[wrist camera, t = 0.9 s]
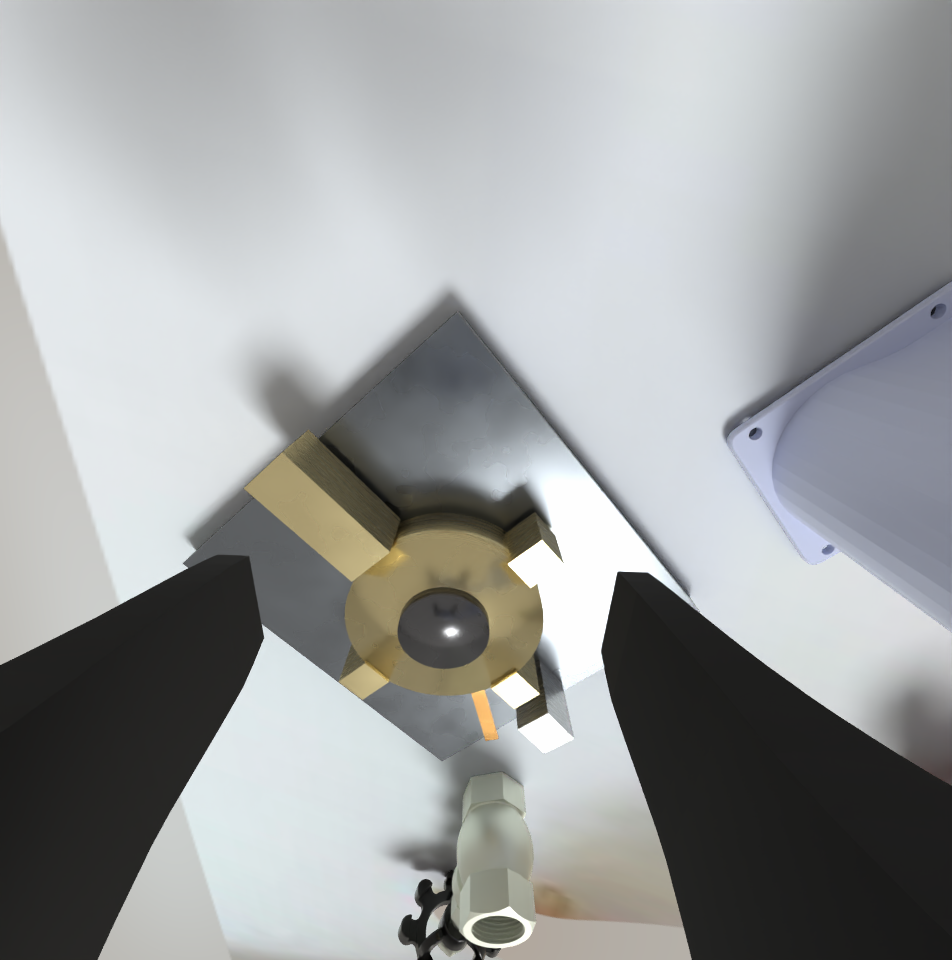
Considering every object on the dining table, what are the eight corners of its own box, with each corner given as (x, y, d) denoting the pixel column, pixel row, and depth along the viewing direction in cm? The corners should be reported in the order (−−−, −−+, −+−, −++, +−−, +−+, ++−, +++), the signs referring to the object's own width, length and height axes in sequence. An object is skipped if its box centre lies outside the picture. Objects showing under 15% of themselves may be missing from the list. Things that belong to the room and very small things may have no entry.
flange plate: (458, 310, 16) (452, 318, 13) (695, 604, 22) (739, 669, 18) (195, 551, 21) (134, 608, 17) (448, 748, 26) (444, 824, 22)
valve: (449, 757, 26) (405, 869, 31) (441, 897, 20) (388, 1010, 25) (555, 777, 27) (496, 884, 32) (577, 918, 21) (501, 1025, 26)
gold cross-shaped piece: (617, 604, 20) (636, 647, 18) (438, 714, 23) (434, 763, 21) (391, 352, 16) (376, 363, 13) (205, 525, 19) (165, 561, 16)
